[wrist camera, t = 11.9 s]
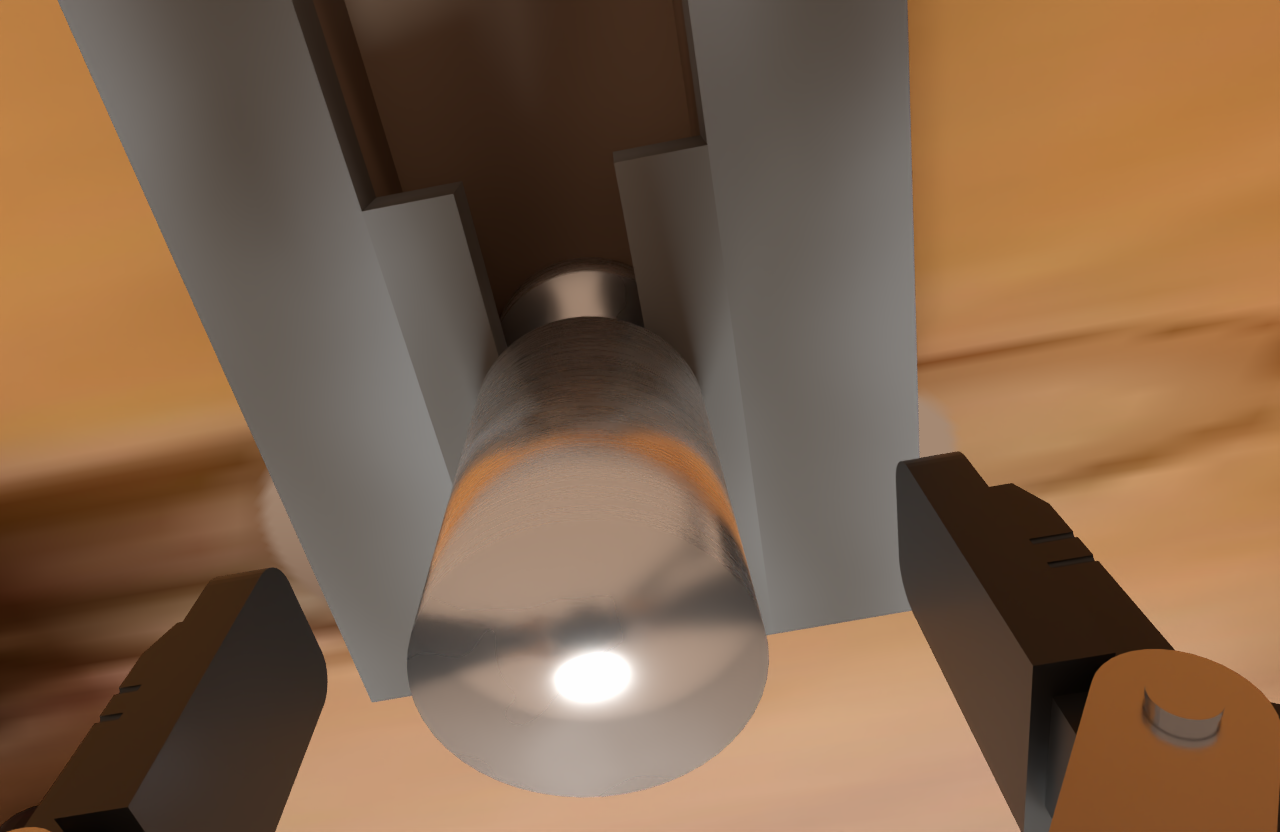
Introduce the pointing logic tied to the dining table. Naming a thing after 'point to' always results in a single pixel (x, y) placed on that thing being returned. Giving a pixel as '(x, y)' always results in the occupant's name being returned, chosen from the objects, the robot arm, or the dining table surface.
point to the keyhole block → (537, 251)
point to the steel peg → (587, 558)
